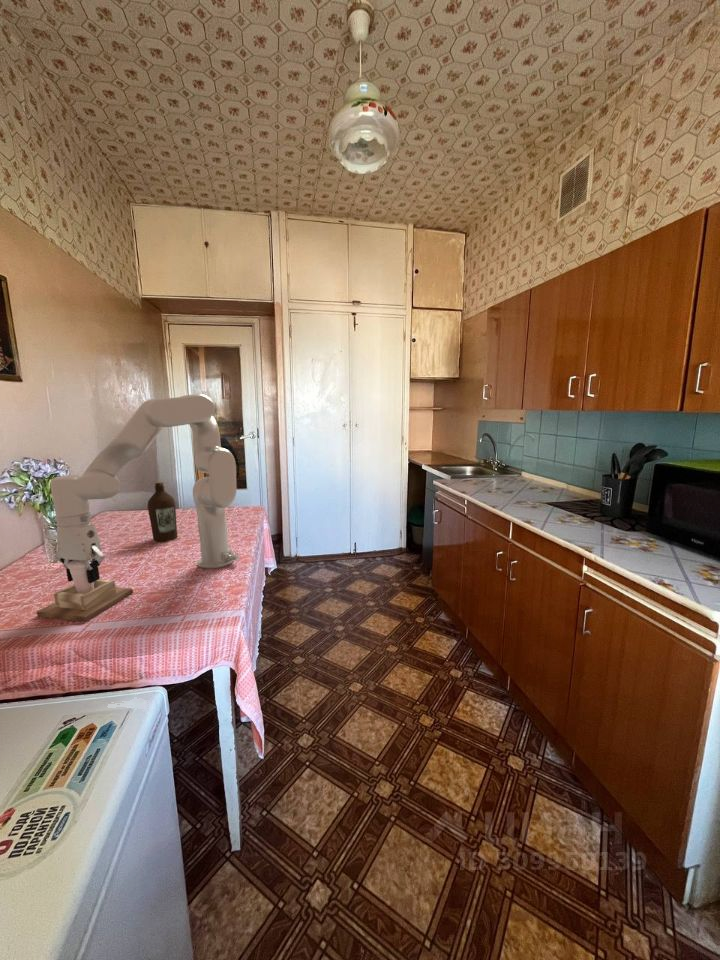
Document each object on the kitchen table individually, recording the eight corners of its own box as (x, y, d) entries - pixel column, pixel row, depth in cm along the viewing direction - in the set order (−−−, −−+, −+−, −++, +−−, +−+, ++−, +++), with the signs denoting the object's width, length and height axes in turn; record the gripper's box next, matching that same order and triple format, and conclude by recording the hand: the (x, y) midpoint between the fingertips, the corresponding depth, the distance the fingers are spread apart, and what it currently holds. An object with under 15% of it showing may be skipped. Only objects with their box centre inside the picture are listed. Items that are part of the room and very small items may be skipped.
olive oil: (148, 538, 165) (141, 482, 160) (174, 533, 172) (168, 479, 167) (156, 544, 157) (149, 486, 153) (182, 538, 165) (176, 482, 160)
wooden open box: (133, 593, 115) (130, 576, 114) (86, 622, 100) (83, 603, 99) (89, 589, 119) (86, 573, 118) (37, 616, 103) (33, 598, 102)
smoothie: (78, 600, 104) (70, 552, 102) (68, 594, 108) (60, 548, 105) (103, 590, 110) (96, 545, 107) (93, 585, 113) (86, 541, 110)
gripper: (111, 517, 106) (120, 576, 110) (61, 515, 110) (71, 572, 113) (88, 525, 99) (98, 588, 103) (35, 522, 103) (46, 583, 106)
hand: (84, 579), depth 108 cm, fingers closed on smoothie, 6 cm apart
